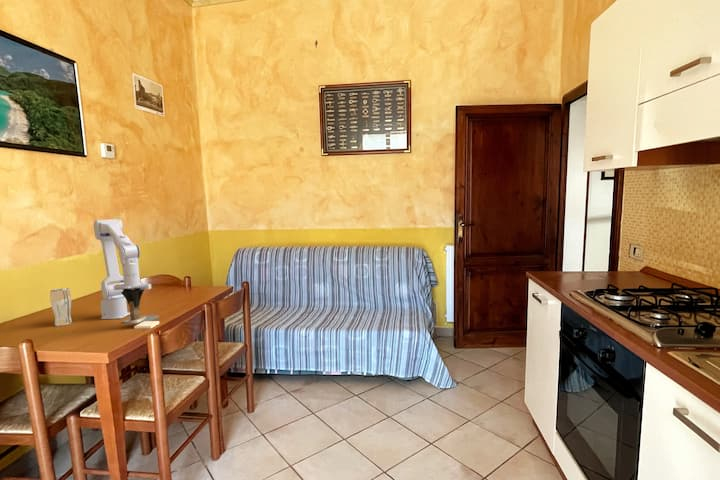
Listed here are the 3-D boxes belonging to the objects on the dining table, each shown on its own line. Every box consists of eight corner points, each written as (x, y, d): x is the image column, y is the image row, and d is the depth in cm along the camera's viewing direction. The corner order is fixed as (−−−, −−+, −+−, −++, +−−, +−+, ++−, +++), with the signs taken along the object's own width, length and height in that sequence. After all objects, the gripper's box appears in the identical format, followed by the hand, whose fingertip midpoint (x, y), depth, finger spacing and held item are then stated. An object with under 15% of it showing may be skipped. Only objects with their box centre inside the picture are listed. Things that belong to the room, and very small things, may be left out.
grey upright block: (125, 323, 154) (123, 302, 153) (134, 318, 160) (132, 298, 159) (137, 322, 154) (135, 302, 153) (146, 318, 160) (144, 298, 159)
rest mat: (121, 323, 161) (121, 321, 161) (133, 317, 169) (132, 316, 169) (149, 322, 161) (148, 321, 161) (159, 316, 169) (159, 315, 169)
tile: (134, 326, 154) (150, 325, 154) (143, 321, 160) (159, 321, 160) (134, 329, 154) (151, 329, 154) (143, 324, 160) (159, 324, 160)
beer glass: (51, 327, 158) (47, 292, 157) (55, 322, 164) (51, 289, 163) (72, 324, 162) (68, 290, 160) (75, 320, 168) (71, 287, 166)
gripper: (107, 276, 151) (110, 309, 152) (142, 275, 150) (146, 309, 152) (118, 273, 158) (122, 304, 159) (153, 272, 158) (155, 304, 159)
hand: (134, 306), depth 156 cm, fingers closed on grey upright block
